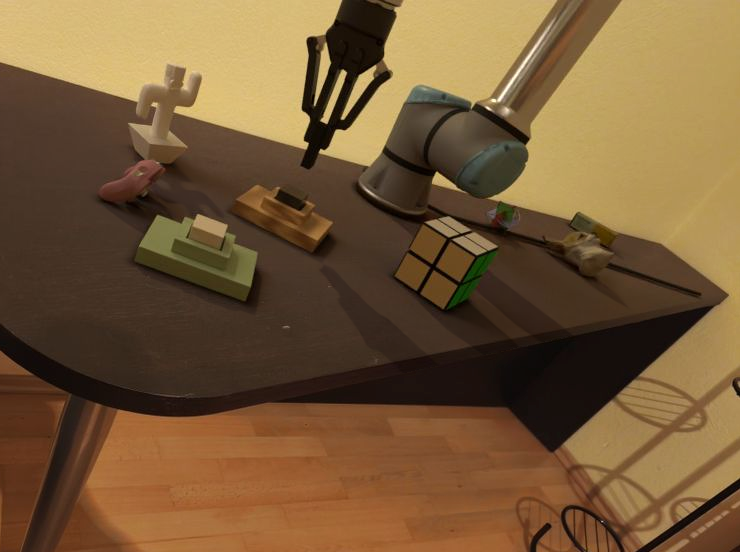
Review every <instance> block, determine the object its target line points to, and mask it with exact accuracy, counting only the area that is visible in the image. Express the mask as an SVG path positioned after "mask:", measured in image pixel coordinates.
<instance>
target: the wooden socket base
mask: <svg viewBox="0 0 740 552" xmlns="http://www.w3.org/2000/svg"><path fill="white" fill-rule="evenodd" d="M280 188H281V187H279V186H276V187H274V188H273V189H272V190H269V189H267V188H265V187H264V186H261V185H260V184H256V185H254V186H253V187H252V188H251V189H249V190H247V191H245V193H243V194H242V195H240V196H238V197H237V198H236V199H235V201H234V202H233V203H234V204H233V206H232V209H231V213H232V214H234V215H237V216H238V217H241V218H242V219H244V220H246V221H248V222H250V223H252V224H254V225H256V226H258V227H260V228H262V229H264V230H266V231H267V232H270V233H272V234H273V235H276V236H278V237H280V238H282V239H284V240H286V241H288V242H290V243H292V244H294V245H296V246H298V247H300V248H302V249H303V250H306V251H308V252H310V253H314V251H316V249H317V248H318V246H320V244H321V243H322V242H323V240H325V238H326V237H327V235H329V232H330V230H331V229H332V226H333V224H334V222H333V221H331V220H329V219H328V218H325V217H324V216H321V215H319V214H318V213H316V212H314V211H315V207H316V204H313V202H310V201H308V200H306V203H305V205H304V206H303V207H302V208H301V209H300V210H299V211H298V210H296V209H294V208H292V207H290V206H288V205H286V204H284V203H282V202H280V201H278V200H276V199H275V198H276V195H277V193H278V190H279V189H280Z"/></svg>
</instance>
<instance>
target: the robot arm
mask: <svg viewBox="0 0 740 552" xmlns="http://www.w3.org/2000/svg"><path fill="white" fill-rule="evenodd" d="M404 1H405V0H341V2H340V5H339V8H338V10H337V12H336V15H335V18H334V21H333V23H332V25H331V26H330V27H328V28H327V29H326V32H325V33H324V34H320V35H311V36H308V37H307V38H306V41H305V43H306V49H307V55H308V58H307V63H306V72H305V79H304V87H303V93H302V100H301V111H302V112H303V113H305V114H306V115H307V116H308V118H309V123H308V125H307V127H306V131H305V133H304V135H303V142H305V143H306V144H307V143H308V144H307V147H306V150H305V152H304V155H303V157H302V160H301V162H300V165H299V166H300V167H302V168H304V169H306V170H308V171H310V170H311V169H312V168H313V167H314V166H315V164H316V161H317V159H318V157H319V154H320V152H321V150H322V151H326V150H327V149H328V148H330V145H331V143H332V140H333V138H334V136H335V133H336V131H339V130H340V131H347V130H349V128H351V127H352V126H353V124H354V123H355V121H356V120H357V119H358V118H359V116H360V115H361V113H362V112H363V110H364V109H365V107H366V106H367V105H368V103H369V102H370V101H371V100H372V99H373V97H374V95H375V94H376V93H377V91H378V90H379V88H380V87H381V86H382V85H383V84H385V83H386V82H388V81H389V80H391V79H392V78H393V76H394V72H393V70H392V69H389V68H388V66H387V64H386V62H385V61H384V58H385V48H386V44H387V41H388V39H389V36H390V34H391V31H392V30H393V26H394V24H395V22H396V20H397V17H398V15H397V11H396V8H401V7H402V5H403V4H404ZM622 1H623V0H556V2H555V3H554V4H553V6H552V7H551V9H550V10H549V12H548V13H547V14H546V16H545V17H544V19H543V20H542V21H541V23H540V24H539V26H538V27H537V28H536V30H535V31H534V33H533V34H532V36H531V38H530V39H529V40H528V42H527V43H526V44H525V46H524V47H523V49H522V51H521V52H520V53H519V54H518V56H517V57H516V59H515V60H514V61H513V63H512V64H511V66H510V68H509V69H508V70H507V72H506V73H505V75H504V76H503V77H502V78H501V80H500V82H499V83H498V85H497V86H496V87H495V89H494V90H493V92H492V93H491V95H490V96H489V97H488V98H483V99H480V100H477V101H475V103H474V104H473V103H472V101H470V100H468V99H466V98H464V97H461V96H458V95H455V94H453V93H450V92H447V91H444V90H441V89H438V88H434V87H431V86H428V85H424V84H417V85H415V86H414V87H412V89H411V90H410V92H409V94H408V96H407V97H406V99H405V100H404V102H403V104H402V106H401V108H400V111H399V113H398V115H397V117H396V120H395V121H394V124H393V126H392V128H391V130H390V133H389V135H388V136H387V140H386V141H385V144H384V146H383V148H382V150H381V152H380V154H379V155H378V156H377V157H376V158H375V160H374V161H373V162H371V164H370V165H369V166H368V165H364V166H363V168H362V170H361V173H362V174H361V175H360V176H359V177H358V180H357V182H356V185H355V188H356V190H357V191H358V193H359V194H360V195H361V196H362V197H363V198H364V199H366V200H367V201H368V202H370V203H371V204H373V205H374V206H375V207H376V206H377V208H380V209H381V210H384V211H386V212H388V213H391V214H393V215H395V216H397V217H398V216H399V217H402V218H404V219H405V218H406V219H410V220H419V219H422V218H423V217H424V215H425V214H426V212H427V210H429V211H431V212H433V213H436V214H438V215H440V216H442V217H443V218H444V217H448V216H449V217H451V218H452V219H454V220H456V221H457V222H459V223H461V224H462V223H463V224H466V225H470V226H474V227H478V228H480V229H484V230H488V231H489V230H490V231H491V232H495V233H496V232H497V233H500V234H502V233H503V234H504V233H505V230H499V229H501V228H497V227H493V226H490V225H491V224H486V223H483V222H479V221H476V220H471V219H467V218H464V217H460V216H457V215H453V214H450V213H448V212H445V211H443V210H441V209H439V208H438V207H435V206H434V205H431V204H430V203H429V200H430V195H431V191H432V190H431V189H432V184H433V180H434V177H435V176H436V173H438V174H439V175H441V176H442V177H443V178H445V179H446V180H447V181H449V182H450V183H451V184H453V185H454V186H455V187H456V188H457V190H460V191H461V192H464V193H466V194H468V195H469V196H470V197H473V198H475V199H479V200H485V199H490V198H493V197H495V196H498V195H500V194H501V193H503V192H505V191H506V190H508V189H509V188H510V187H511V186H512V185H514V183H515V182H516V181H517V180H518V179H519V177H520V176H521V175H522V174H523V172H524V170H525V169H526V167H527V164H526V163H528V161H529V157H530V156H529V155H530V154H529V150H528V148H527V144H528V143H529V142H530V141H531V139H532V130H531V127H532V124H533V122H534V120H535V119H536V118H537V117H538V115H539V114H540V113H541V111H542V109H544V107H545V106H546V104H547V103H548V101H550V99H551V98H552V96H553V95H554V94H555V92H556V91H557V89H558V88H559V87H560V86H561V84H562V82H563V81H564V80H565V78H566V77H567V76H568V74H569V73H570V72H571V70H572V69H573V68H574V67H575V65H576V63H577V62H578V61H579V59H580V58H581V57H582V56H583V54H584V53H585V52H586V51H587V49H588V47H589V46H590V45H591V43H592V42H593V41H594V39H595V38H596V36H597V35H598V34H599V32H600V31H601V30H602V28H603V27H604V26H605V24H606V23H607V22H608V21H609V19H610V17H611V16H612V15H613V13H614V12H615V11H616V10H617V8H618V7H619V5H620V4H621V2H622ZM325 47H327V48H326V49H327V52H328V58H329V61H330V64H329V67H328V69H327V73H326V77H325V79H324V81H323V85H322V86H321V90H320V91H319V94H318V96H317V99H316V95H317V88H318V87H317V86H318V80H319V75H320V68H321V67H320V66H321V60H322V52H323V51H324V50H325ZM373 67H375V68H376V69H375V70H374V71H373V74H372V76H373V79H372V80H371V81H370V82H369V84H368V85H367V86H366V88H365V89H364V90H363V92H362V93H361V94H360V95H359V97H358V99H357V100H356V102H354V104H353V106H352V107H351V109H350V110H349V111H348V113H347V114H346V115H345V117H344V118H343V115H344V112H345V110H346V107H347V105H348V103H349V100H350V97H351V95H352V93H353V90H354V88H355V86H356V83H357V81H358V80H359V77H360V76H361V75H362V74H364V73H366V72H367V71H369V70H371V69H372V68H373ZM342 71H344V72H346V74H345V76H344V81H343V83H342V85H341V88H340V90H339V93H338V96H337V98H336V100H335V102H334V105H333V109H332V111H331V114H330V116H329V118H328V121H327V123H326V122H324V121H322V119H324V117H325V116H324V115H325V114H326V110H327V107H328V105H329V103H330V100H331V98H332V95H333V92H334V91H335V87H336V85H337V82H338V80H339V77H340V75H341V74H342ZM315 101H316V103H315ZM506 231H507V232H506V233H507V234H506V236H507V235H508V236H511V237H514V238H518V239H522V240H525V241H528V242H532V243H535V244H539V245H542V246H544V247H545V246H546V247H548V246H547V245H546V243H545V241H544V240H543V239H539V238H535V237H532V236H528V235H525V234H523V233H522V234H521V233H518V232H515V231H512V230H511V231H510V230H509V229H507V230H506ZM503 234H502V235H503ZM607 266H608V267H611V268H614V269H616V270H620V271H623V272H626V273H628V274H631V275H633V276H634V275H635V276H637V277H640V278H643V279H646V280H648V281H651V282H655V283H658V284H661V285H664V286H666V287H670V288H673V289H676V290H679V291H682V292H685V293H689V294H692V295H695V296H698V297H702V295H703V293H702V292H699V291H697V290H694V289H690V288H688V287H684V286H681V285H677V284H675V283H672V282H669V281H666V280H663V279H661V278H660V279H659V278H657V277H654V276H652V275H648V274H645V273H642V272H639V271H637V270H633V269H631V268H627V267H625V266H622V265H619V264H616V263H613V262H611V261H610V262H609V264H608V265H607Z"/></svg>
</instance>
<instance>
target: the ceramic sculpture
mask: <svg viewBox="0 0 740 552" xmlns="http://www.w3.org/2000/svg"><path fill="white" fill-rule="evenodd" d="M541 238H542V241H545V243H546V245H547V246H546V247H548V248H549V250H550V251H552V252H553V253H555V254H558V255H560V256H561V258H562V259H563V260H564V261H565V262H567V263H568V264H569V265H571V266H574V267H575V266H576V267H578V268H579V273H580V274H581V275H583V276H585V277H588V278H589V277H592V276H593V277H594V276H597V274H599V273H601V271H603V270H604V269H606V267H607V266H608V264H609V262H611V261H612V260H613V258H614V257H615V252H611V251H608V250H607V251H606V250H604V249H603V248H602V247H601V241H600V238H599V236H598V235H597V234H596V233H595V232H592V233H590V234H589V235H588V234H587V233H584V232H580V231H579V230H576V231H573V232H570V233H568V234H567V235H566V236H565V237H564V239H563V240H558V239H557V238H549V237H547V236H545V235H543V234H542V235H541Z"/></svg>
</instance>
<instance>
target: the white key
mask: <svg viewBox="0 0 740 552" xmlns="http://www.w3.org/2000/svg"><path fill="white" fill-rule="evenodd" d="M194 220H195V221H194V223H193V225H192V228H191V231H190V234H189V237H188V239H190V240H193V241H195V242H198V243H201V244H203V245H206V246H209V247H211V248H214V249H217V250H220V247H221V244H222V242H223V239H224V236H225V233H226V232H227V230H228V226H229V225H228V224H226V223H223V222H220V221H217V220H215V219H212V218H210V217H207V216H205V215H202V214H199V213H198V214H196V216H195V218H194Z"/></svg>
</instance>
